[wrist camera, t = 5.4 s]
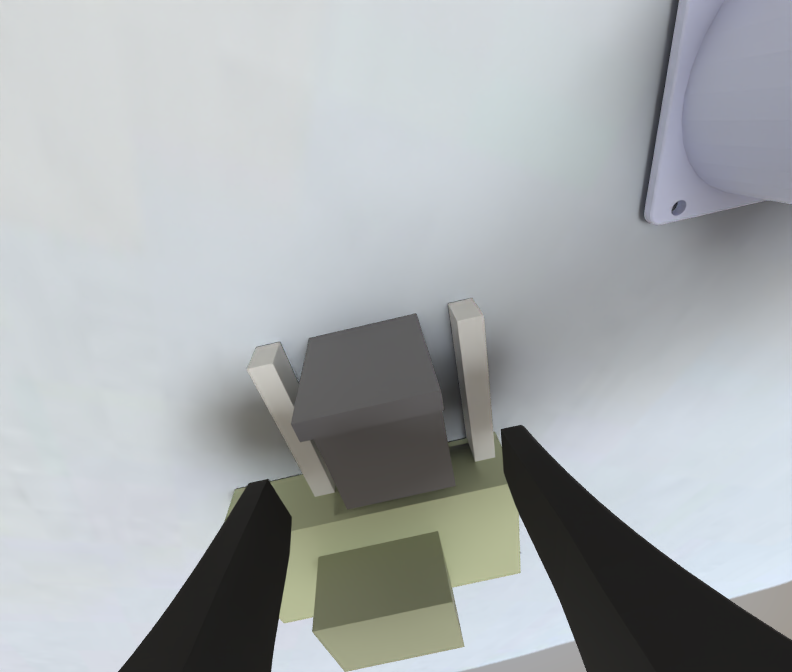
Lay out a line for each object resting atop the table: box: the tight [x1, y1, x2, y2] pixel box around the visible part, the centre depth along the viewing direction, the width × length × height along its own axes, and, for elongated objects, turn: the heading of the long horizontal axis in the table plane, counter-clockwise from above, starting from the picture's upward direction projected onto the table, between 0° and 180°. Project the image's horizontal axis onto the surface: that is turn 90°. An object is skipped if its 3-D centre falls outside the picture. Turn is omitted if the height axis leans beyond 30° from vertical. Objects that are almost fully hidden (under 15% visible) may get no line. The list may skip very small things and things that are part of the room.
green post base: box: [225, 298, 520, 672], centre depth 16 cm, size 14×16×6 cm
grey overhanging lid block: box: [291, 314, 456, 510], centre depth 14 cm, size 4×6×5 cm
